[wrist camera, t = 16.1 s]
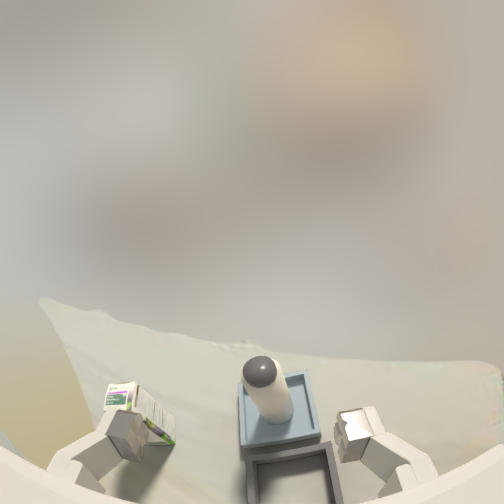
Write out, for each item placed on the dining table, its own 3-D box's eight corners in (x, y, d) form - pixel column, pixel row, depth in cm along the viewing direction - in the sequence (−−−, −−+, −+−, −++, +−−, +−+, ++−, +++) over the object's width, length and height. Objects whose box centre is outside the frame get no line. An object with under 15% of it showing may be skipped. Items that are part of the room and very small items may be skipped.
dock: (255, 529, 25) (250, 529, 23) (250, 459, 36) (245, 455, 34) (344, 515, 24) (345, 515, 22) (331, 445, 35) (330, 440, 33)
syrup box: (149, 445, 40) (101, 412, 33) (150, 419, 45) (107, 382, 38) (175, 444, 40) (131, 411, 32) (176, 417, 45) (135, 379, 37)
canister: (262, 427, 40) (238, 390, 32) (260, 399, 45) (237, 356, 37) (296, 421, 40) (282, 383, 32) (291, 393, 44) (277, 348, 37)
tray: (244, 448, 38) (240, 445, 37) (241, 388, 48) (237, 382, 47) (321, 436, 37) (320, 431, 36) (308, 375, 47) (307, 368, 46)
